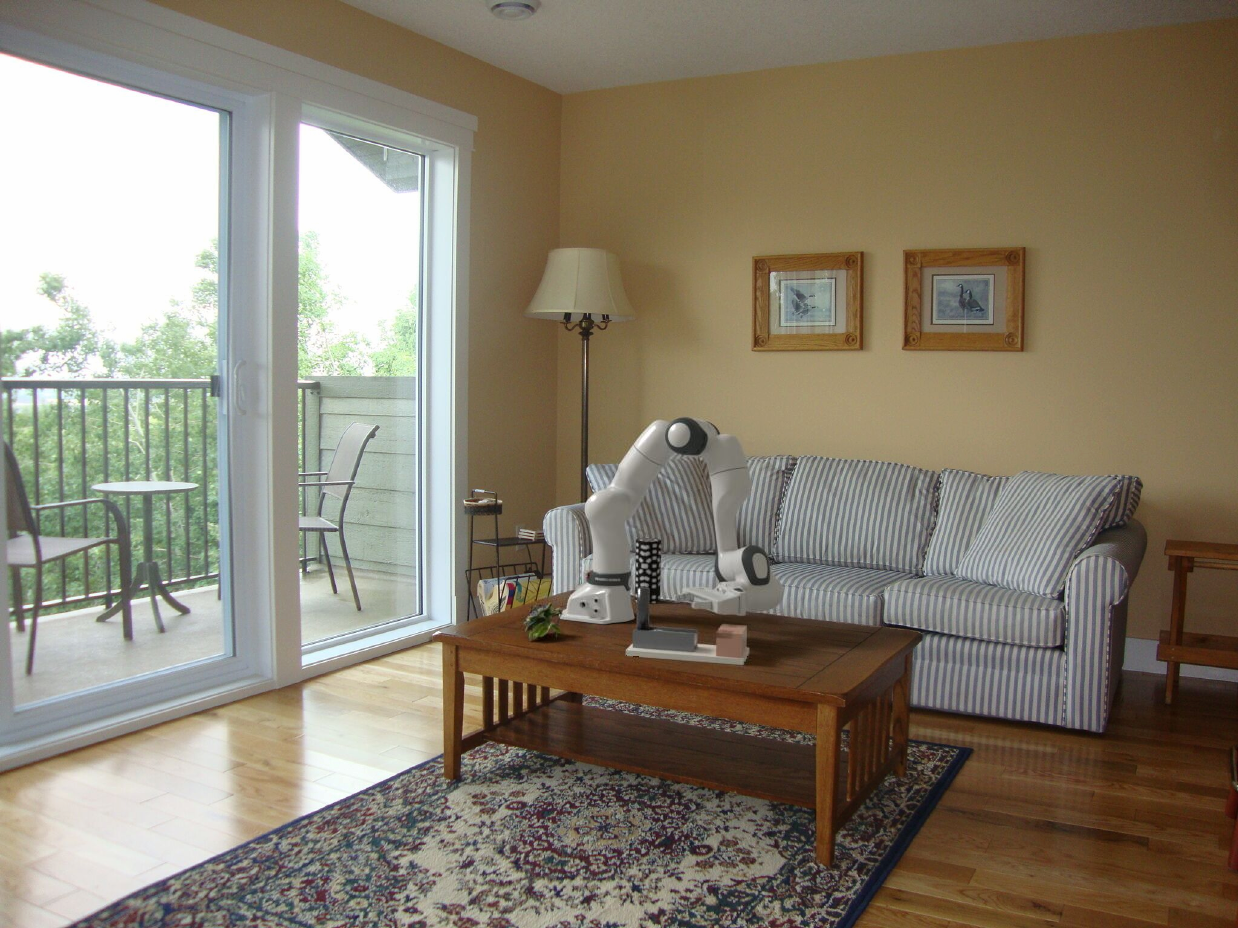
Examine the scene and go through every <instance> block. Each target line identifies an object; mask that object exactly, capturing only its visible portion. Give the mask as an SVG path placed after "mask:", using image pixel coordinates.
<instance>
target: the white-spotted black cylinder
mask: <svg viewBox="0 0 1238 928" xmlns="http://www.w3.org/2000/svg"><path fill="white" fill-rule="evenodd" d="M634 557H635V559H634V560H635V563H634V565H635V566H634V568H635V570H634V571H635V572H634V602H635V601H636V602H635V603H637V588H639V587H647V588H650V593H649V603H654V604H658V603H661V592H662V591H661V590H662V589H661V587H662V586H661V580H662V579H661V578H662V577H661V576H662V575H661V574H662V539H659V538H654V537H653V538H652V537H651V538H647V537H646V538H645V537H644V538H643V537H642V538H641V537H640V538H636V539H635V556H634Z"/></svg>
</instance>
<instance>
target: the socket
mask: <svg viewBox="0 0 1238 928" xmlns="http://www.w3.org/2000/svg"><path fill="white" fill-rule="evenodd" d="M747 635H748V625H743V624H742V625H741V624H730V623H722V624H721V625H720V627H718V629H717V631H716V638H715V645H716V656H722V657H735V658H742V656H743V654H744V652H745V650H746V648H748V646H747V645H748V644H747V642H748V640H747V638H748V636H747Z"/></svg>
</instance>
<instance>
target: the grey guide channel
mask: <svg viewBox="0 0 1238 928" xmlns="http://www.w3.org/2000/svg"><path fill="white" fill-rule="evenodd" d="M652 630H658V631H652ZM666 631H672V632H666ZM680 632H686V633H680ZM694 633H697V643H696V646H694V643H695V634H694ZM698 639H699V629H697V628H695V629H694V628H683V627H669V626H667V627H666V626H657V625H656V626H654V625H649V630H638V629H637V628H633V629H632V643H633V648H646V649H659V650H672V651H685V652H694V651H695V650H696V648H697V647H698V644H699V643H698V642H699V640H698Z"/></svg>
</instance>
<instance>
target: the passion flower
mask: <svg viewBox="0 0 1238 928" xmlns="http://www.w3.org/2000/svg"><path fill="white" fill-rule="evenodd" d="M554 608H555V606H554V605H553V603H552V602H549V603H548V604H543V603H535V605H533V604H532V605H531V606H530V609H529V615H527V617H526V619H525V620H526V621H523V625H524V626H526V628H525V631H524V632H526V633H528V632H529V634H528V639H529V641H530V642H532V639H533V640H535V639H537V638H542V637H544V636H545V635H548V632H549V631H551V630H553V631H554V633H555V639H556V638H557V637H558V634H562V631H561V630H560V628H559V624H560V620H561V619H560V617H561V615H562V612H563V608H562V607H561V606H560V607H557V608H555V610H556V611H554ZM559 614H560V616H559ZM556 616H557V617H558V620H557V622H556V623H555V622H554V621H553V618H554V617H556ZM557 639H558V638H557Z"/></svg>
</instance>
